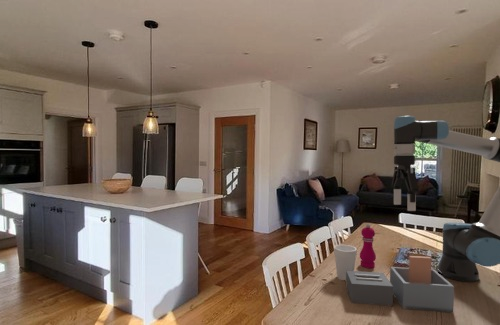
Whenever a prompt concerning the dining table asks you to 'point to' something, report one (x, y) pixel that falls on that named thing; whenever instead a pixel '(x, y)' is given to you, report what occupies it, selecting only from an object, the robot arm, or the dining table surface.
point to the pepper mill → (367, 248)
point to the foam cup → (344, 259)
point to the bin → (422, 291)
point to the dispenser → (369, 288)
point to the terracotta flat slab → (419, 269)
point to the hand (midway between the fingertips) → (404, 207)
